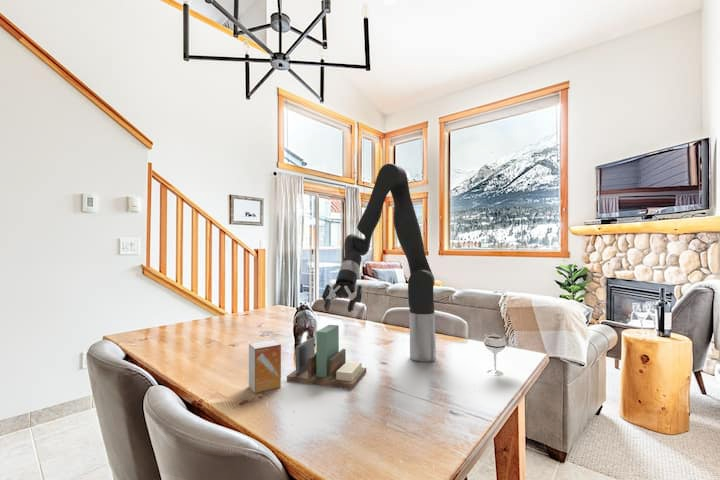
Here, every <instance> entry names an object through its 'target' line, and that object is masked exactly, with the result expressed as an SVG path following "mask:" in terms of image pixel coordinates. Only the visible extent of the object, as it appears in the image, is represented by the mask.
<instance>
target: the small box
mask: <svg viewBox="0 0 720 480" xmlns="http://www.w3.org/2000/svg"><path fill="white" fill-rule="evenodd" d="M281 351H282V344H281V343H280V342H278V341H277V340H275V339H272V340H265V341H258V342H253V343H248V387H249V389H250V390H251V392H253V393H254V394H257V393H261V392H264V391H269V390H270V391H271V390H274V389H278V388H279V389H280V388H281V386H282V385H281V384H282V352H281Z"/></svg>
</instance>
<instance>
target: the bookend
mask: <svg viewBox="0 0 720 480" xmlns="http://www.w3.org/2000/svg"><path fill="white" fill-rule="evenodd" d="M313 354H315V338H314V337H310V338H309V339H307V340H305V341H303V342H301V343H300V344H298V345H297V346H295V370H296V375H298V376H299V375H301V374H302V373H303V372H305V371H306V370H307V369H308V358H309V357H310V356H312V355H313Z"/></svg>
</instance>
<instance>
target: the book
mask: <svg viewBox="0 0 720 480" xmlns="http://www.w3.org/2000/svg"><path fill="white" fill-rule="evenodd" d="M339 327H340V326H339V324H328V325H326V326H324V327H322V328H320V329H319V330H317V331H316V332H315V336H316V337H315V339H316V344H315V345H316V346H315V348H316V349H315V350H316V352H315V353H316V370H317V377H325V378H327V377H328V376H329V360H330V359H331V358H332V357H333V356H335V355H336V354H337V353H338V352H340V345H339V344H340V343H339V340H340V339H339V338H340V337H339V336H340V333H339V330H340V329H339Z"/></svg>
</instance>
